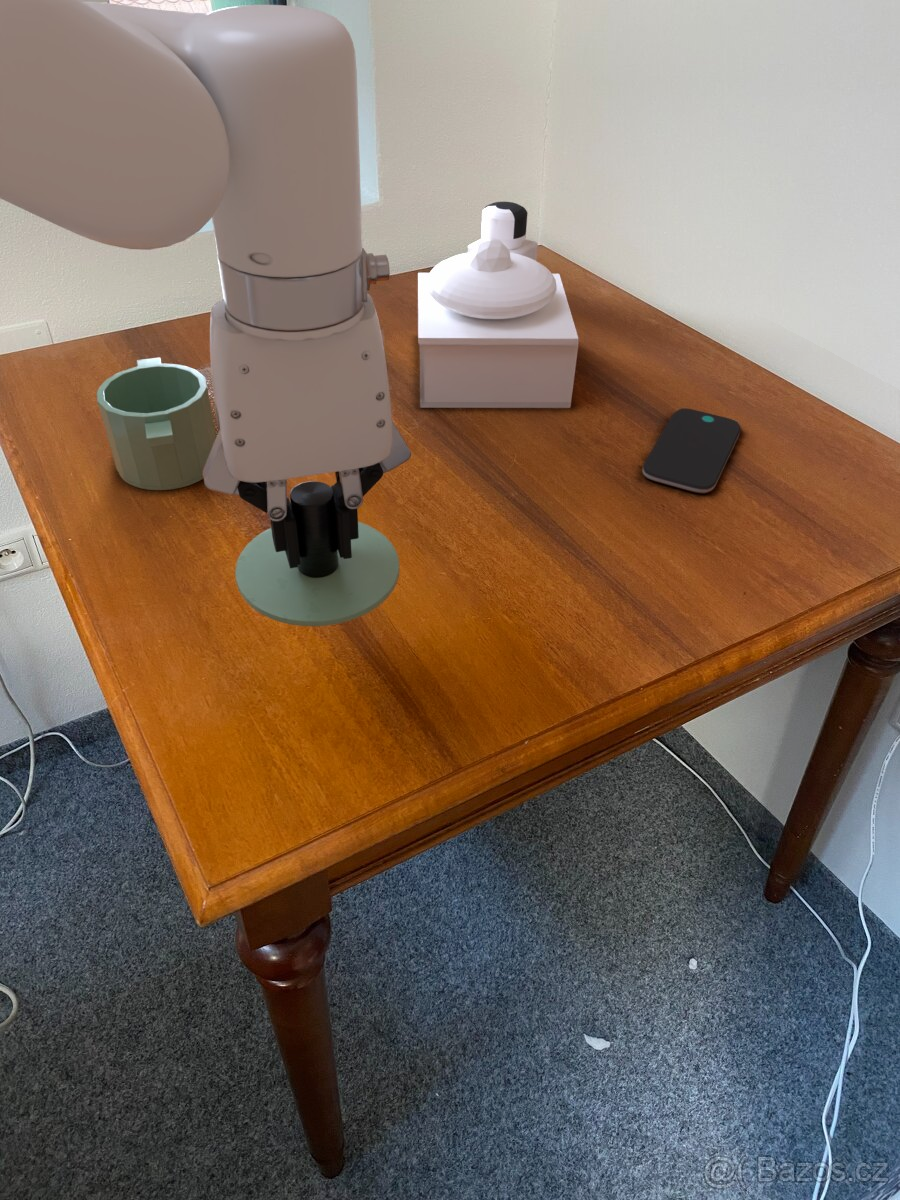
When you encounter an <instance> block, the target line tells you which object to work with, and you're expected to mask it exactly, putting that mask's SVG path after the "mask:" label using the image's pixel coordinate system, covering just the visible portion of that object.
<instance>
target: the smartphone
mask: <svg viewBox="0 0 900 1200" xmlns="http://www.w3.org/2000/svg"><path fill="white" fill-rule="evenodd" d="M741 430H742V427H741V425H740V424H739V422H738V421H736V420H735V419H732V418H730V417H725V416H721V415H717V414H713V413H709V412H705V411H702V410H697V409H692V408H686V407H685V408H679V409H678V410H676V411H674V412H673V414H672V415H671V417H670V419H669V421H668V422H667V424H666V425H665V427H664V428H663V431H662V432H661V434H660V435H659V437H658V438H657V441H656V442H655V444H654V445H653V447H652V449H651V450H650V452H649V454H648V456H647V457H646V459H645V461H644V462H643V465H642V474H643V476H644V477H645V478H646V479H648V480H650V481H652V482H655V483H658V484H662V485H666V486H669V487H672V488H677V489H679V490H684V491H687V492H689V493H695V494H707V493H710V492H711V491H713V490H714V489H715V487H716V485H717V483H718V481H719V479H720V477H721V475H722V473H723V470H724V468H725V466H726V464H727V462H728V460H729V458H730V456H731V454H732V452H733V449H734V447H735V445H736V444H737V440H738V439H739V437H740V434H741Z"/></svg>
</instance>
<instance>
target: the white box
mask: <svg viewBox="0 0 900 1200" xmlns="http://www.w3.org/2000/svg"><path fill="white" fill-rule="evenodd" d="M579 342H580V341H579V335H578V331H577V329H576V326H575V321H574V319H573V316H572V313H571V309H570V306H569V302H568V298H567V295H566V291H565V288H564V285H563V281H562V278H561V275H560V273H552V272H551V271H550V270H549V268H547V267H546V266H545V265H543V264H542V263H541V262H538V261H537V260H536V261H535V260H533V259H531V258H528V257H526V256H522V255H519V254H514V253H510V251H509V250H508V249H507V248H506V247H505V246H504V245H503V243H502V242H501V241H497V240H490V239H486V240H484V241H482V242H481V243H479V244H477V245H476V246H475V247H474V248H473V250H472V251H471V252H463V253H458V254H455V255H453V256H451V257H448V258H447V259H446V258H445V259H444V260H442V261H440V262H439V263H437V264H436V265H435V266H434V267H433V268H432V269H431V270H430V272H418V273H417V344H418V345H419V408H422V409H432V408H433V409H470V408H471V409H571V406H572V398H573V390H574V382H575V373H576V367H577V358H578V351H579V344H580V343H579Z"/></svg>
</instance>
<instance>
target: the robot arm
mask: <svg viewBox="0 0 900 1200" xmlns="http://www.w3.org/2000/svg"><path fill="white" fill-rule="evenodd" d="M356 57H357V56H356V50H355V45H354V42H353V39H352V37H351V34H350V32H349V31H348V29H347V28H346V26H345V25H344V24H343V23H342V21H340V20H339V19H338V18H337V17H335V16H333V15H331V14H328V13H327V12H324V11H322V10H318V9H314V8H309V7H302V6H293V5H283V4H247V5H235V6H229V7H223V8H219V9H216V10H213V11H211V12H208V13H207V12H204V13H203V12H191V11H190V12H189V11H176V10H165V9H157V8H148V7H142V6H141V7H140V6H132V5H125V4H117V3H111V2H101V1H82V0H0V200H3V201H5V202H7V203H9V204H11V205H13V206H16V207H17V208H19V209H22V210H24V211H26V212H28V213H30V214H33V215H35V216H37V217H39V218H41V219H43V220H45V221H48V222H50V223H52V224H54V225H56V226H58V227H60V228H62V229H65V230H66V231H69V232H71V233H74V234H75V235H79V236H81V237H83V238H86V239H89V240H91V241H94V242H97V243H100V244H104V245H107V246H112V247H117V248H123V249H127V250H140V251H141V250H145V251H151V250H156V249H161V248H162V249H163V248H168V247H171V246H174V245H177V244H180V243H183V242H185V241H186V240H187V239H189V238H191V237H192V236H194V235H196V233H199V232H200V231H201V230H202V228H204V227H205V225H207V223H209V222H210V220H212V221H211V222H212V228H213V234H214V235H213V236H214V242H215V246H216V247H215V249H216V254H217V262H218V270H219V275H220V276H219V277H220V284H221V289H222V291H221V292H222V297H223V299H220V300H218V301H217V302H215V303H214V304H213V305H212V307H211V311H210V320H209V321H210V322H209V324H210V325H209V357H210V359H209V360H210V373H211V383H212V392H213V393H212V394H213V402H214V403H213V404H214V410H215V418H216V424H217V425H216V426H217V433H216V436H217V437H216V439H215V442H214V444H213V447H212V449H211V451H210V454H209V456H208V459H207V461H206V464H205V466H204V469H203V478H204V479H203V484H204V487H206V489H208V490H209V491H213V492H218V493H221V494H225V495H230V496H234V495H235V496H239V497H240V498H241V499H242V500H243V501H245V502H247V503H249V504H250V505H252V506H253V507H255V508H257V509H258V510H260V511H262V512H264V513H266V514H267V517H268V519H269V521H270V528H271V530H272V537H273V543H274V547H275V551H276V552H281V551H285V552H286V556H287V559H288V563H289V566H290V568H296V567H298V565H301V564H300V554H299V544H298V535H297V525H296V519H295V516H294V513H293V510H292V508H291V501H290V496H287V495H288V488H287V487H288V486H287V485H288V484H287V483H288V482H287V481H288V480H289V479H296V478H304V477H311V476H316V475H322V474H323V475H324V474H329V473H334V477H335V483H334V484H333V485H330V487H331V488H332V489H333V491H334V503H335V519H336V534H337V549H338V552H339V555H340V557H341V558H342V557H343V558H344V559H348V558H352V552H351V540H353V539H358V538H359V533H358V522H359V513H358V509H359V508H360V507H361V506H362V505H363V503H364V497H365V495H367V493H369V491H370V490H372V488H373V487H374V486H375V485H376V484H377V483H378V482H379V481H380V480H381V479H382V478H383V477H384V474H385V473H389V472H391V471H392V470H394V469H395V468H397V467H399V466H401V465H403V464H405V463H406V462H407V461H409V460H410V459H411V457H412V451H411V450H410V448H409V446H408V444H407V441H406V440H405V438H404V437H403V435H402V434H401V432H400V431H399V429H398V427H397V426H396V424H395V423H394V420H393V413H392V403H391V393H390V392H391V391H390V384H389V375H388V367H387V360H386V359H387V358H386V353H385V346H384V341H383V335H382V330H381V325H380V321H379V317H378V313H377V310H376V306H375V303H374V300H373V297H372V296H371V295H370V294H369V293H368V291H370V288H371V285H376V284H377V282H385V281H389V280H390V276H391V271H390V262H389V258H388V256H387V254H378V255H374V254H373V252H371V253H367V251H366V250H365V248H364V247H363V227H362V225H363V223H362V221H363V220H362V194H361V191H362V190H361V161H360V130H359V129H360V128H359V103H358V102H359V99H358V70H357V60H356V59H357V58H356Z"/></svg>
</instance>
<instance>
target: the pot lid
mask: <svg viewBox="0 0 900 1200" xmlns="http://www.w3.org/2000/svg"><path fill="white" fill-rule="evenodd" d="M289 500H290V503H291V508H292V510H293V513H294V516H295V519H296V525H297V535H298V544H299V554H300V564H301V565H298V567H296V568H290V566H289V563H288V559H287V556H286V552H285V551H281V552H276V551H275V547H274V543H273V537H272V530H271V527H270V528H268V529H265V530H264V531H263V532H261V533H259V534H258V535H255V537H254V538H253V539H251V540H250V541H249V543H247V544H246V546H244V548H243V549H242V551H241V552H240V555H239V556H238V558H237V560H236V564H235V569H234V570H235V571H234V575H235V583H236V587H237V590H238V592H239V594H240V596H241V597H242V599H243V600H244V601H245V602H246V605H248V606H249V607H251V608H252V609H253V610H254V611H256V613H259V614H260V615H261V616H262V615H263V616H264V617H266V618H269V619H270V620H273V621H276V622H279V623H283V624H287V625H292V626H297V627H298V626H299V627H325V626H332V625H338V624H343V623H346V622H349V621H352V620H356V619H358V618H360V617H362V616H365V615H367V614H368V613H370V612H372V611H374V610H376V609H377V608H378V607H379V606H381V605H382V604H383V603H384V602H386V600H387V599H388V598H389V597H390V596H391V594H392V593H393V592H394V590H395V588H396V586H397V584H398V580H399V578H400V565H401V564H400V558H399V555H398V551H397V550H396V547H395V546H394V545H393V543H392V542H391V540H389V538H388V537H386V536H385V535H384V534H383V533H382V532H380V531H379V530H377V529H376V528H374V527H372V526H370V525H368V524H366V523H363V522H361V521H358V533H359V538H358V539H353V540H351V552H352V558H348V559H344V558H343V557H342V558H341V557H340V555H339V552H338V549H337V534H336V519H335V503H334V491H333V489H332V488H331V485H329V484H327V483H325V482H322V481H317V480H316V481H315V480H311V481H305V482H304V481H303V482H301V483H299V484H297V485H295V486H294V487H292V488H291V489H290V492H289Z"/></svg>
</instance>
